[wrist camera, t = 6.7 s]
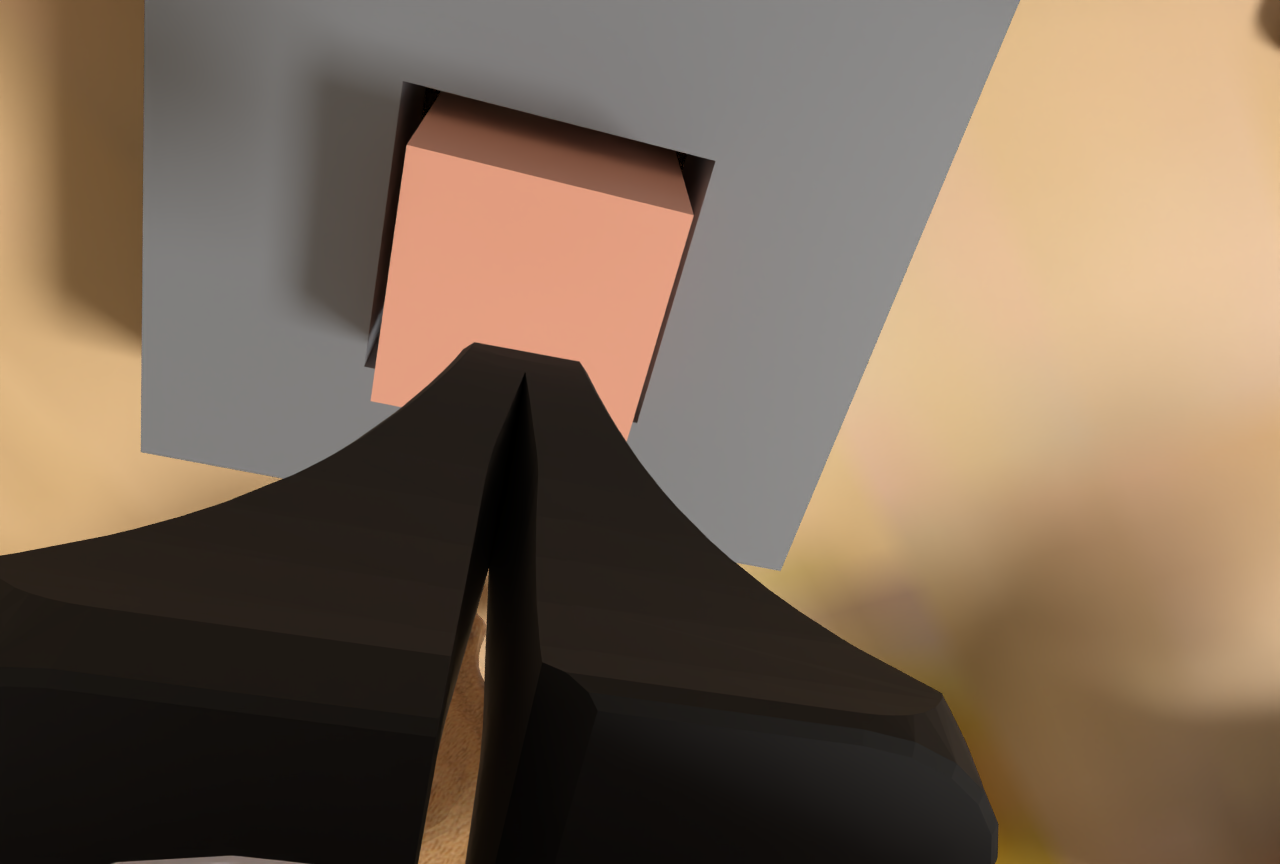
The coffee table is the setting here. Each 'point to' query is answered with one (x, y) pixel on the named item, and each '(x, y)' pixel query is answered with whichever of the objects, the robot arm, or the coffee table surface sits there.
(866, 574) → the coffee table surface
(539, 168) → the salmon pink block
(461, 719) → the lion figurine
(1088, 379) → the coffee table surface
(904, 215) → the button housing
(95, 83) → the coffee table surface
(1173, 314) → the coffee table surface
